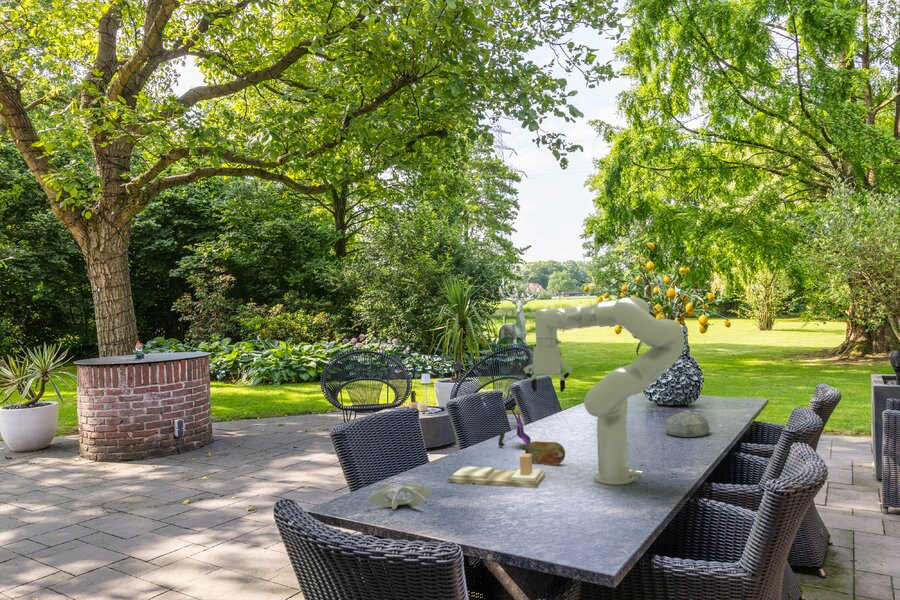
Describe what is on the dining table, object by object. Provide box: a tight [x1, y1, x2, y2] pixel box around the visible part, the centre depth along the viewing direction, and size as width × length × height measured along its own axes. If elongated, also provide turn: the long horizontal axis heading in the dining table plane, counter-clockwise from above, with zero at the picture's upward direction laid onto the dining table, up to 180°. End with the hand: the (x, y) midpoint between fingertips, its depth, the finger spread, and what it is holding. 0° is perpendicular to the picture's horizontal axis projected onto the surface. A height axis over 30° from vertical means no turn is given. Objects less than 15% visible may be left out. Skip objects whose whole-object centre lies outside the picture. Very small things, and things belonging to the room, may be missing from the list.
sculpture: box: [367, 481, 433, 510], centre depth 187 cm, size 18×20×6 cm
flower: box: [498, 411, 532, 448], centre depth 263 cm, size 15×15×14 cm
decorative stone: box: [664, 410, 711, 438], centre depth 277 cm, size 18×21×10 cm
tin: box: [524, 440, 566, 466], centre depth 232 cm, size 15×3×8 cm, turn 62°
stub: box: [511, 453, 543, 481], centre depth 209 cm, size 8×12×7 cm, turn 161°
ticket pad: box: [448, 465, 546, 489], centre depth 212 cm, size 30×14×3 cm, turn 71°
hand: (548, 391), depth 222 cm, fingers open, 9 cm apart
